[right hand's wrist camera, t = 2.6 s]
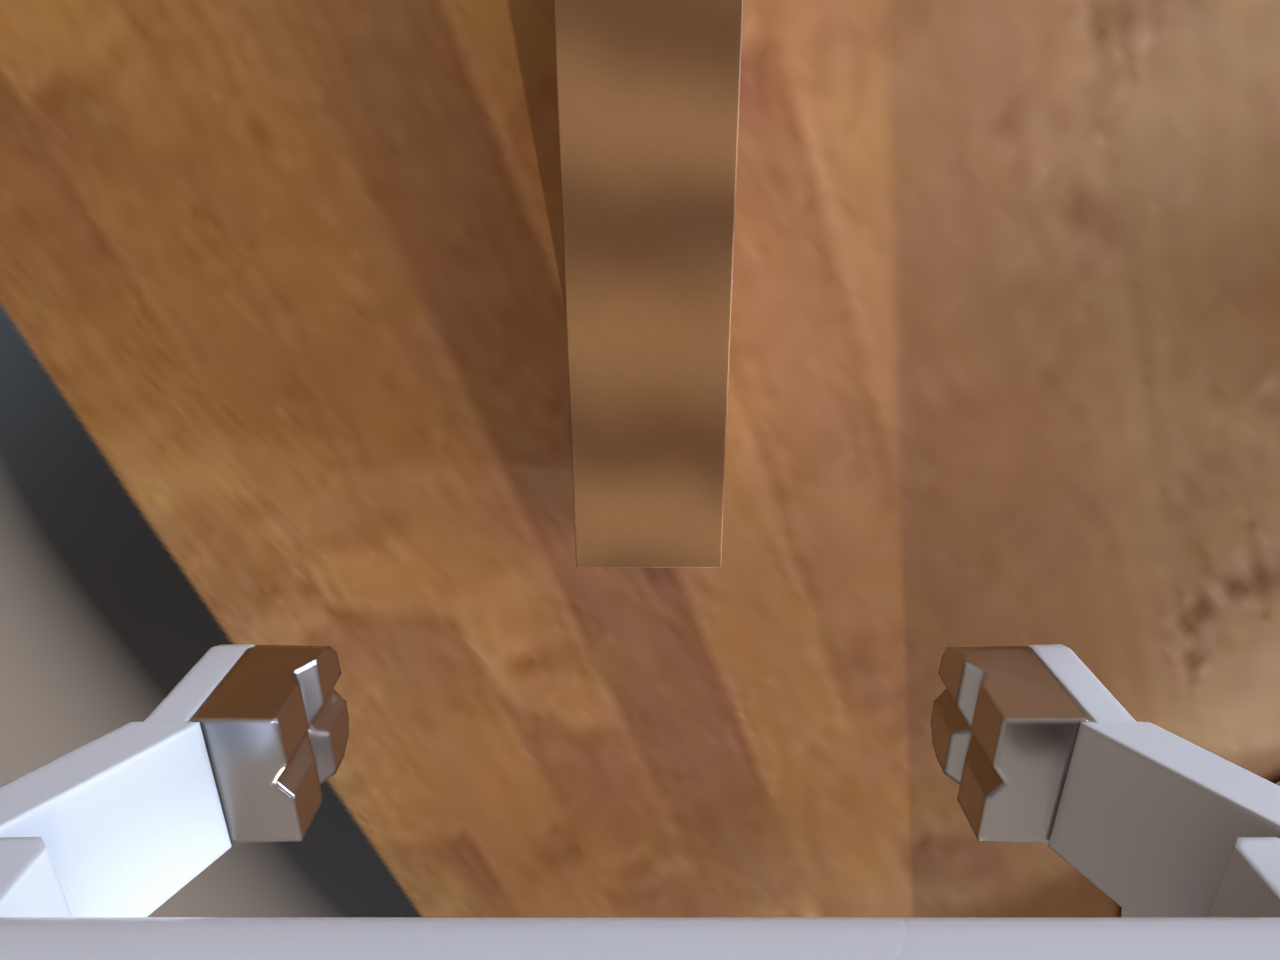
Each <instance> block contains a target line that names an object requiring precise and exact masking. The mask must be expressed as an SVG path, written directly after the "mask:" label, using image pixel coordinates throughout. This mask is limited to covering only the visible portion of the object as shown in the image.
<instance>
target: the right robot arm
mask: <svg viewBox="0 0 1280 960" xmlns="http://www.w3.org/2000/svg"><path fill="white" fill-rule="evenodd" d="M340 675H341V670H340V665H339V660H338V655H337V652H336V651H335V650H334V649H332V648H331V647H330V646H290V645H256V646H255V645H218V646H215V647H211V648H210V649H209V650H208V651H207V652H206V653H205V654H204V656H203V657H202V658H201V659H200V660H199V661H198V662H197V663H196V664H195V665H194V667H193V668H192V669H191V670H190V671H189V672H188V673H187V674H186V676H185V677H184V678H183V679H182V680H181V681H180V682H179V683H178V684H177V685H176V686H175V688H174V689H173V690H172V691H171V692H170V693H169V694H168V695H167V696H166V698H165V699H164V700H163V701H162V702H161V703H160V704H159V705H158V706H157V707H156V709H155V710H154V711H153V712H152V713H151V714H150V715H149V716H148V717H147V719H146V720H145V721H144V722H130V723H128V724H126V725H124V726H122V727H120V728H118V729H116V730H114V731H112V732H110V733H108V734H105V735H103V736H101V737H99V738H97V739H95V740H93V741H91V742H89V743H87V744H85V745H83V746H81V747H79V748H77V749H75V750H73V751H71V752H69V753H67V754H65V755H63V756H61V757H59V758H57V759H55V760H52V761H50V762H48V763H46V764H44V765H42V766H40V767H38V768H36V769H34V770H32V771H30V772H28V773H26V774H24V775H22V776H20V777H18V778H16V779H14V780H12V781H10V782H8V783H6V784H4V785H2V786H0V960H1280V781H1279V782H1277V783H1276V784H1274V783H1272V782H1270V781H1268V780H1266V779H1264V778H1262V777H1260V776H1258V775H1256V774H1254V773H1252V772H1250V771H1248V770H1246V769H1244V768H1242V767H1239V766H1237V765H1235V764H1233V763H1231V762H1229V761H1227V760H1225V759H1223V758H1221V757H1219V756H1217V755H1215V754H1213V753H1211V752H1209V751H1207V750H1205V749H1203V748H1201V747H1199V746H1197V745H1195V744H1193V743H1191V742H1189V741H1187V740H1185V739H1183V738H1181V737H1179V736H1176V735H1174V734H1172V733H1170V732H1168V731H1166V730H1164V729H1162V728H1160V727H1158V726H1156V725H1154V724H1152V723H1150V722H1136V721H1135V720H1134V719H1133V717H1132V716H1131V715H1130V714H1129V713H1128V712H1127V711H1126V710H1125V709H1124V707H1123V706H1122V705H1121V704H1120V703H1119V702H1118V701H1117V700H1116V699H1115V698H1114V696H1113V695H1112V694H1111V693H1110V692H1109V691H1108V690H1107V689H1106V688H1105V686H1104V685H1103V684H1102V683H1101V682H1100V681H1099V680H1098V679H1097V678H1096V677H1095V675H1094V674H1093V673H1092V672H1091V671H1090V670H1089V669H1088V668H1087V667H1086V665H1085V664H1084V663H1083V662H1082V661H1081V660H1080V659H1079V658H1078V657H1077V655H1076V654H1075V653H1074V652H1073V651H1072V650H1071V649H1070V648H1068V647H1066V646H1064V645H1061V644H1049V645H1023V646H998V647H947V648H946V650H945V652H944V654H943V656H942V658H941V664H940V669H939V675H940V677H941V679H942V680H943V682H944V684H945V686H946V687H947V689H946V690H945V691H944V692H943V693H942V694H941V695H940V696H939V697H938V698H937V699H936V700H935V701H934V704H933V711H932V719H931V729H932V741H933V746H934V750H935V753H936V757H937V760H938V762H939V764H940V766H941V768H942V770H943V772H944V774H946V775H947V776H949V777H950V778H951V779H953V780H954V781H956V782H957V783H959V784H960V788H959V793H958V799H957V800H958V802H959V804H960V806H961V808H962V810H963V812H964V814H965V816H966V818H967V820H968V821H969V823H970V825H971V827H972V829H973V831H974V833H975V835H976V837H977V839H978V841H994V842H1029V843H1049V845H1048V847H1050V848H1051V849H1052V850H1053V851H1054V852H1056V853H1057V854H1058V855H1059V856H1060V857H1062V858H1063V859H1064V860H1065V861H1066V862H1068V863H1069V864H1070V865H1071V866H1072V867H1074V868H1075V869H1076V870H1077V871H1078V872H1080V873H1081V874H1082V875H1083V876H1085V877H1086V878H1087V879H1088V880H1089V881H1091V882H1092V883H1093V884H1094V885H1095V886H1097V887H1098V888H1099V889H1100V890H1101V891H1103V892H1104V893H1105V894H1106V895H1107V896H1109V897H1110V898H1111V899H1112V900H1113V901H1115V902H1116V903H1117V904H1118V905H1119V906H1121V907H1122V910H1121V917H585V918H454V917H415V918H414V917H413V918H412V917H399V918H398V917H395V918H393V917H386V918H385V917H148V916H149V915H150V914H151V913H152V912H154V911H155V910H156V909H157V908H158V907H160V906H161V905H162V904H163V903H164V902H166V901H167V900H168V899H169V898H170V897H172V896H173V895H174V894H175V893H177V892H178V891H179V890H180V889H181V888H182V887H184V886H185V885H186V884H187V883H188V882H190V881H191V880H192V879H193V878H195V877H196V876H197V875H198V874H199V873H201V872H202V871H203V870H204V869H205V868H207V867H208V866H209V865H210V864H211V863H213V862H214V861H215V860H216V859H217V858H219V857H220V856H221V855H222V854H223V853H225V852H226V851H227V850H228V849H230V848H231V843H250V842H285V841H302V839H303V837H304V835H305V833H306V831H307V829H308V827H309V825H310V823H311V821H312V819H313V818H314V816H315V814H316V812H317V810H318V808H319V806H320V804H321V802H322V800H323V799H322V793H321V788H320V784H321V783H323V782H324V781H326V780H327V779H329V778H330V777H331V776H333V775H334V774H336V772H337V770H338V768H339V766H340V764H341V761H342V759H343V757H344V753H345V749H346V744H347V739H348V735H349V716H348V710H347V703H346V701H345V700H344V699H343V698H342V697H341V696H340V695H339V694H338V693H337V692H336V691H335V690H334V689H333V687H334V686H335V684H336V682H337V680H338V679H339V677H340Z"/></svg>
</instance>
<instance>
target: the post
mask: <svg viewBox="0 0 1280 960" xmlns="http://www.w3.org/2000/svg"><path fill="white" fill-rule="evenodd" d="M553 6H554V31H555V55H556V80H557V105H558V129H559V154H560V178H561V203H562V228H563V252H564V277H565V302H566V326H567V351H568V375H569V400H570V425H571V449H572V474H573V498H574V523H575V548H576V566H577V567H597V568H721V559H722V534H723V508H724V482H725V457H726V431H727V406H728V380H729V355H730V329H731V304H732V278H733V253H734V227H735V202H736V176H737V151H738V125H739V100H740V74H741V49H742V23H743V0H553Z"/></svg>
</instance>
